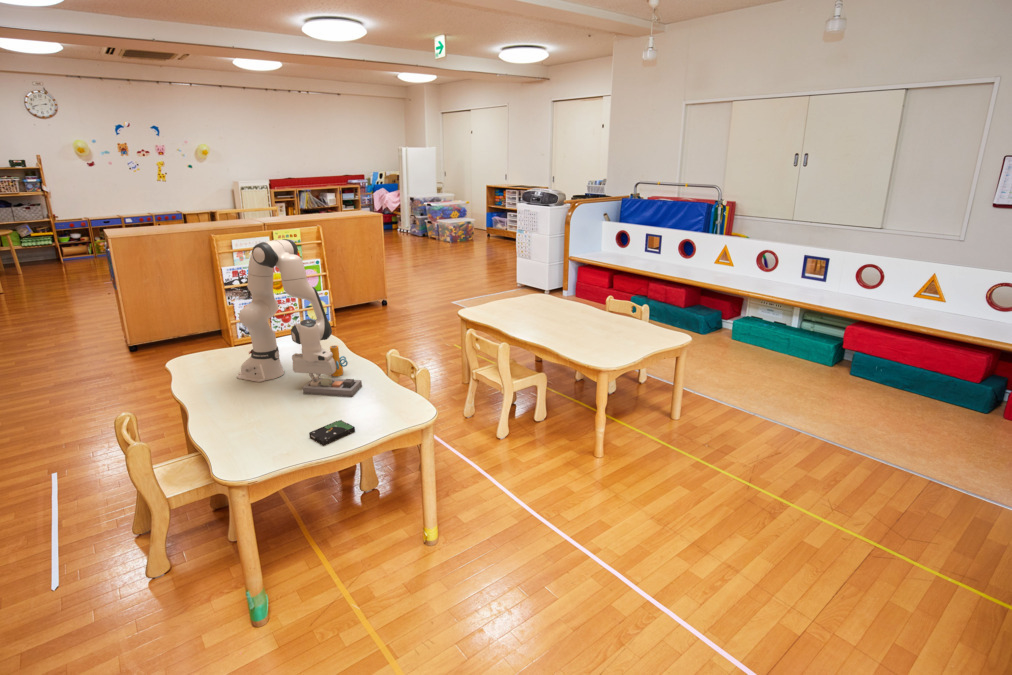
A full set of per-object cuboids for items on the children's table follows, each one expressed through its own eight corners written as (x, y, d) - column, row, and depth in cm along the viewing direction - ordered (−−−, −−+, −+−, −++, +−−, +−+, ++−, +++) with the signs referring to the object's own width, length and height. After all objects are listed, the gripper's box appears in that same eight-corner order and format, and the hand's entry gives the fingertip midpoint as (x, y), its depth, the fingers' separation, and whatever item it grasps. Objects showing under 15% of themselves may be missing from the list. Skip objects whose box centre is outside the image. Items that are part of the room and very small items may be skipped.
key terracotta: (332, 388, 261) (332, 384, 260) (336, 385, 265) (335, 381, 264) (340, 389, 261) (339, 384, 260) (343, 386, 264) (343, 381, 263)
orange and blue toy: (352, 370, 286) (349, 343, 280) (345, 379, 276) (342, 350, 271) (329, 369, 287) (326, 342, 282) (321, 378, 277) (317, 350, 272)
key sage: (321, 385, 262) (320, 380, 261) (324, 382, 265) (324, 377, 264) (328, 385, 261) (328, 381, 260) (332, 382, 265) (331, 377, 264)
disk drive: (323, 447, 216) (355, 432, 226) (323, 441, 215) (355, 426, 225) (309, 438, 222) (340, 424, 233) (308, 432, 221) (340, 418, 232)
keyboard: (303, 393, 260) (302, 387, 259) (315, 383, 271) (314, 377, 270) (352, 397, 256) (351, 390, 255) (362, 386, 268) (361, 380, 267)
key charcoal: (343, 386, 260) (342, 382, 259) (346, 383, 264) (346, 378, 263) (351, 387, 259) (350, 382, 259) (354, 383, 263) (353, 379, 262)
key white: (310, 387, 263) (310, 382, 262) (314, 384, 266) (313, 379, 265) (318, 388, 262) (317, 383, 261) (321, 384, 266) (321, 380, 265)
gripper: (288, 355, 257) (292, 382, 262) (329, 357, 255) (333, 385, 259) (294, 350, 263) (298, 377, 268) (335, 352, 260) (338, 379, 265)
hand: (315, 381), depth 264 cm, fingers closed, pressing on key white
